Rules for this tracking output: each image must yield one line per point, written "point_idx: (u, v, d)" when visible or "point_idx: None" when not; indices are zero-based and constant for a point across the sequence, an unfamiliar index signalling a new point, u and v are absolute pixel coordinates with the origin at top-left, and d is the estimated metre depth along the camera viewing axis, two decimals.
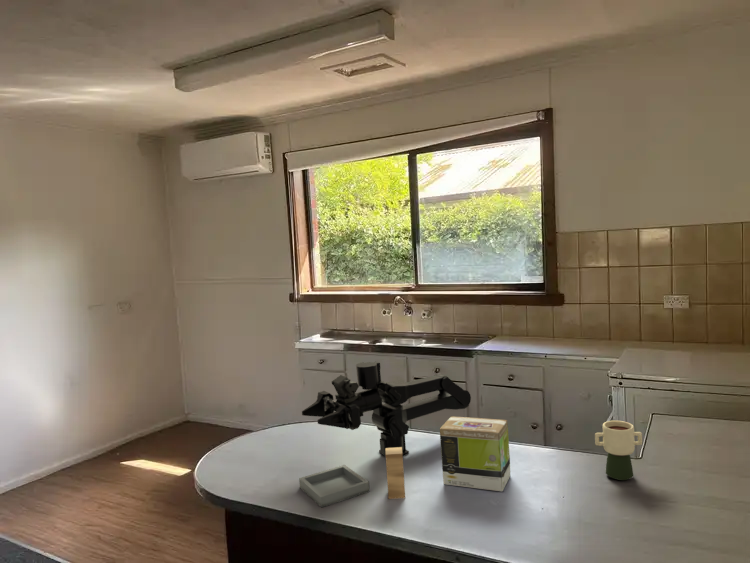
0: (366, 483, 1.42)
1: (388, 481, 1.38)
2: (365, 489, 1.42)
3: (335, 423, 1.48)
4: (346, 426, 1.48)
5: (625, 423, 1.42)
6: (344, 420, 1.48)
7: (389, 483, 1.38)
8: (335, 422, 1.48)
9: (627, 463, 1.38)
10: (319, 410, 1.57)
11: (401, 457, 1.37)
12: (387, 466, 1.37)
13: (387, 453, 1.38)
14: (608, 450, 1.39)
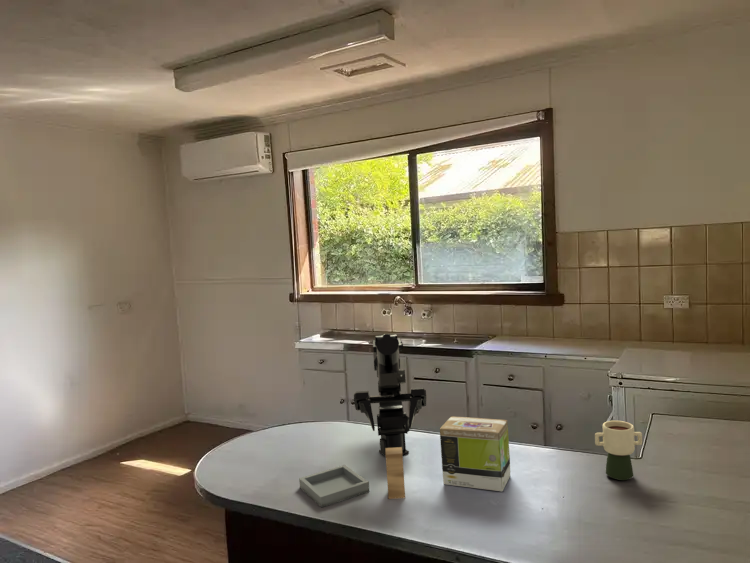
0: (366, 483, 1.42)
1: (388, 481, 1.38)
2: (365, 489, 1.42)
3: (414, 414, 1.50)
4: (419, 408, 1.52)
5: (625, 423, 1.42)
6: (417, 406, 1.51)
7: (389, 483, 1.38)
8: (414, 414, 1.50)
9: (627, 463, 1.38)
10: None
11: (401, 457, 1.37)
12: (387, 466, 1.37)
13: (387, 453, 1.38)
14: (608, 450, 1.39)
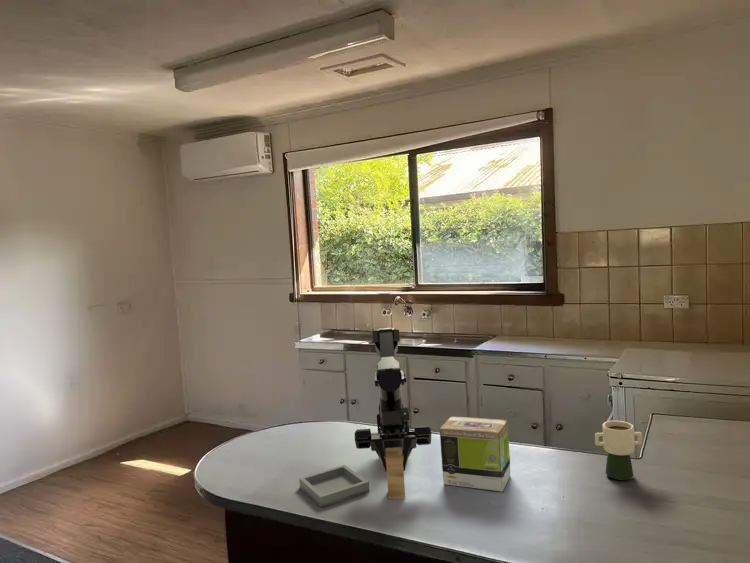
0: (366, 483, 1.42)
1: (388, 481, 1.38)
2: (365, 489, 1.42)
3: (408, 454, 1.42)
4: (414, 447, 1.44)
5: (625, 423, 1.42)
6: (411, 445, 1.43)
7: (389, 483, 1.38)
8: (408, 454, 1.41)
9: (627, 463, 1.38)
10: None
11: (401, 457, 1.37)
12: (387, 466, 1.37)
13: (387, 453, 1.38)
14: (608, 450, 1.39)
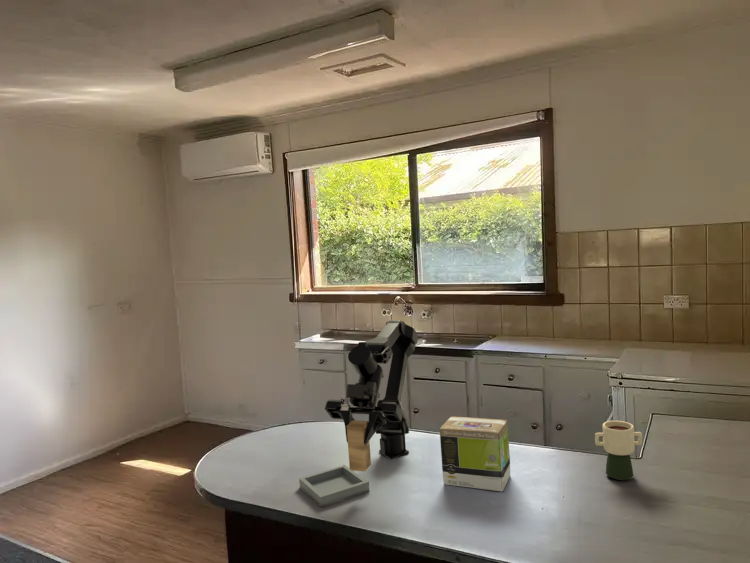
0: (366, 483, 1.42)
1: (349, 453, 1.39)
2: (365, 489, 1.42)
3: (375, 429, 1.41)
4: (383, 423, 1.42)
5: (625, 423, 1.42)
6: (379, 420, 1.42)
7: (350, 455, 1.39)
8: (374, 429, 1.41)
9: (627, 463, 1.38)
10: None
11: (361, 430, 1.37)
12: (348, 438, 1.39)
13: (349, 425, 1.39)
14: (608, 450, 1.39)
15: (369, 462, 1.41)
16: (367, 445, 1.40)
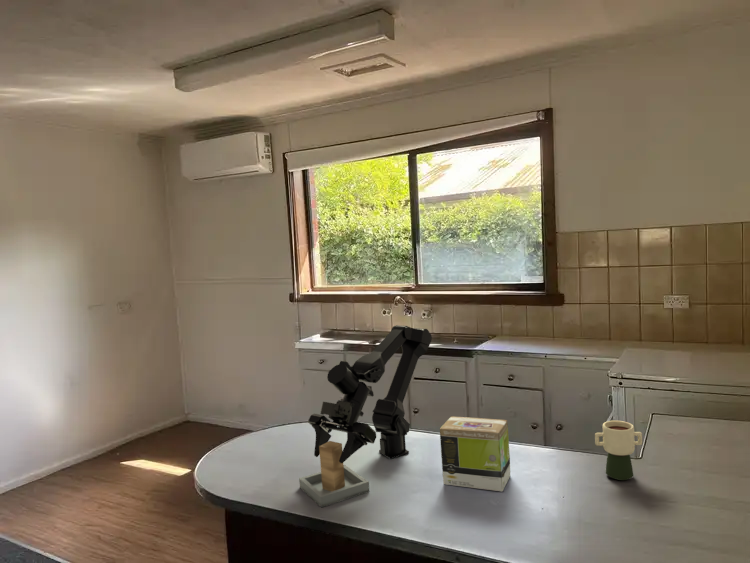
0: (366, 483, 1.42)
1: (321, 472, 1.44)
2: (365, 489, 1.42)
3: (354, 449, 1.43)
4: (364, 444, 1.43)
5: (625, 423, 1.42)
6: (359, 441, 1.43)
7: (322, 474, 1.44)
8: (353, 448, 1.43)
9: (627, 463, 1.38)
10: (324, 438, 1.49)
11: (330, 452, 1.41)
12: (320, 457, 1.44)
13: (322, 445, 1.44)
14: (608, 450, 1.39)
15: (342, 483, 1.44)
16: (339, 467, 1.44)
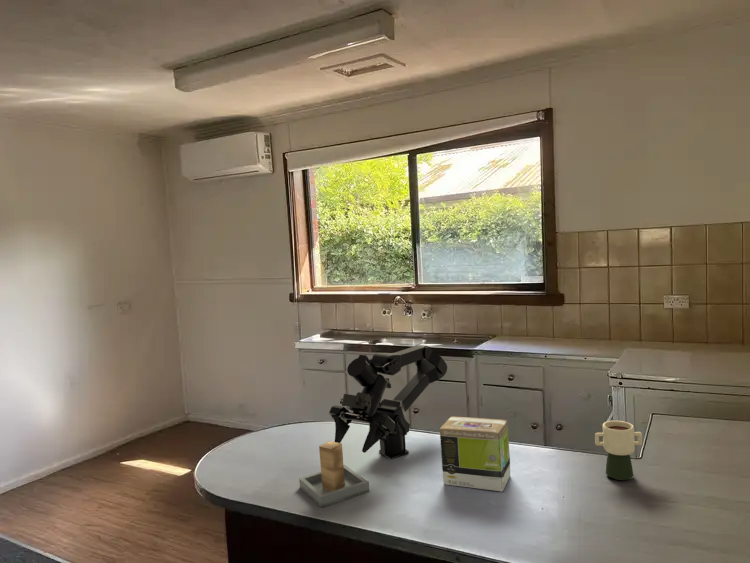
0: (366, 483, 1.42)
1: (321, 472, 1.44)
2: (365, 489, 1.42)
3: (376, 439, 1.49)
4: (385, 434, 1.50)
5: (625, 423, 1.42)
6: (381, 431, 1.49)
7: (322, 474, 1.44)
8: (375, 438, 1.49)
9: (627, 463, 1.38)
10: (344, 428, 1.56)
11: (330, 452, 1.41)
12: (320, 457, 1.44)
13: (322, 445, 1.44)
14: (608, 450, 1.39)
15: (342, 483, 1.44)
16: (339, 467, 1.44)
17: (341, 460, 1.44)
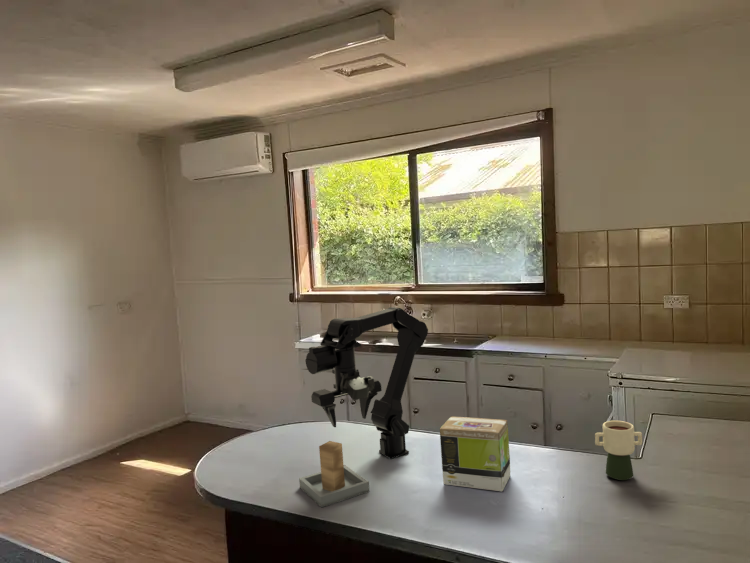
0: (366, 483, 1.42)
1: (321, 472, 1.44)
2: (365, 489, 1.42)
3: None
4: None
5: (625, 423, 1.42)
6: None
7: (322, 474, 1.44)
8: None
9: (627, 463, 1.38)
10: None
11: (330, 452, 1.41)
12: (320, 457, 1.44)
13: (322, 445, 1.44)
14: (608, 450, 1.39)
15: (342, 483, 1.44)
16: (339, 467, 1.44)
17: (341, 460, 1.44)
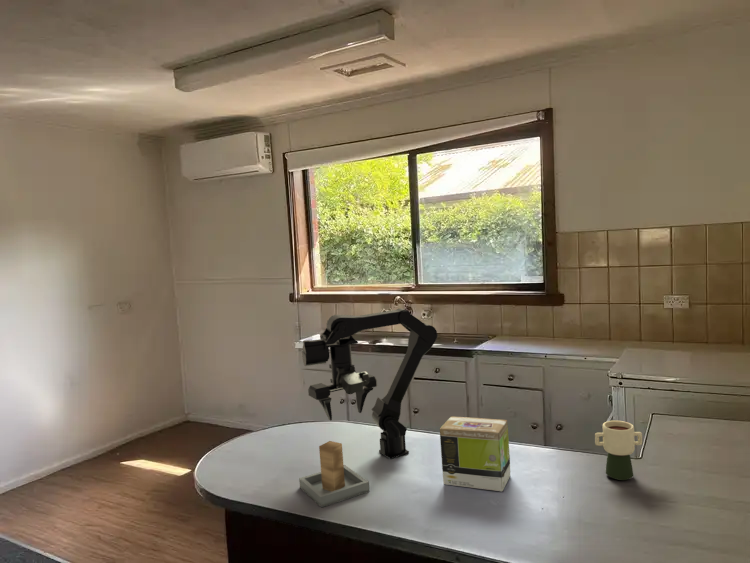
0: (366, 483, 1.42)
1: (321, 472, 1.44)
2: (365, 489, 1.42)
3: None
4: None
5: (625, 423, 1.42)
6: None
7: (322, 474, 1.44)
8: None
9: (627, 463, 1.38)
10: None
11: (330, 452, 1.41)
12: (320, 457, 1.44)
13: (322, 445, 1.44)
14: (608, 450, 1.39)
15: (342, 483, 1.44)
16: (339, 467, 1.44)
17: (341, 460, 1.44)
